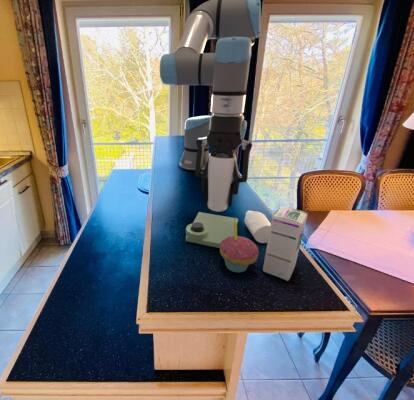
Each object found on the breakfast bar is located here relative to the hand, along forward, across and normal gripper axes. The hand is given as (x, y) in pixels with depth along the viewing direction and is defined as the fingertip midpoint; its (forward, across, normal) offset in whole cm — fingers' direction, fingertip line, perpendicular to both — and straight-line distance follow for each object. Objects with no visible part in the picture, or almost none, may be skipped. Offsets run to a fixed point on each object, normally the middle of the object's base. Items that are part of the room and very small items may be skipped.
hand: (218, 202), depth 72 cm
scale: (+9, 0, -1) cm, 9 cm away
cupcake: (+9, +8, -14) cm, 18 cm away
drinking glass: (+2, 0, 0) cm, 2 cm away
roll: (+9, +11, +3) cm, 14 cm away
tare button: (+6, -4, -6) cm, 9 cm away
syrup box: (+9, +16, -12) cm, 22 cm away
